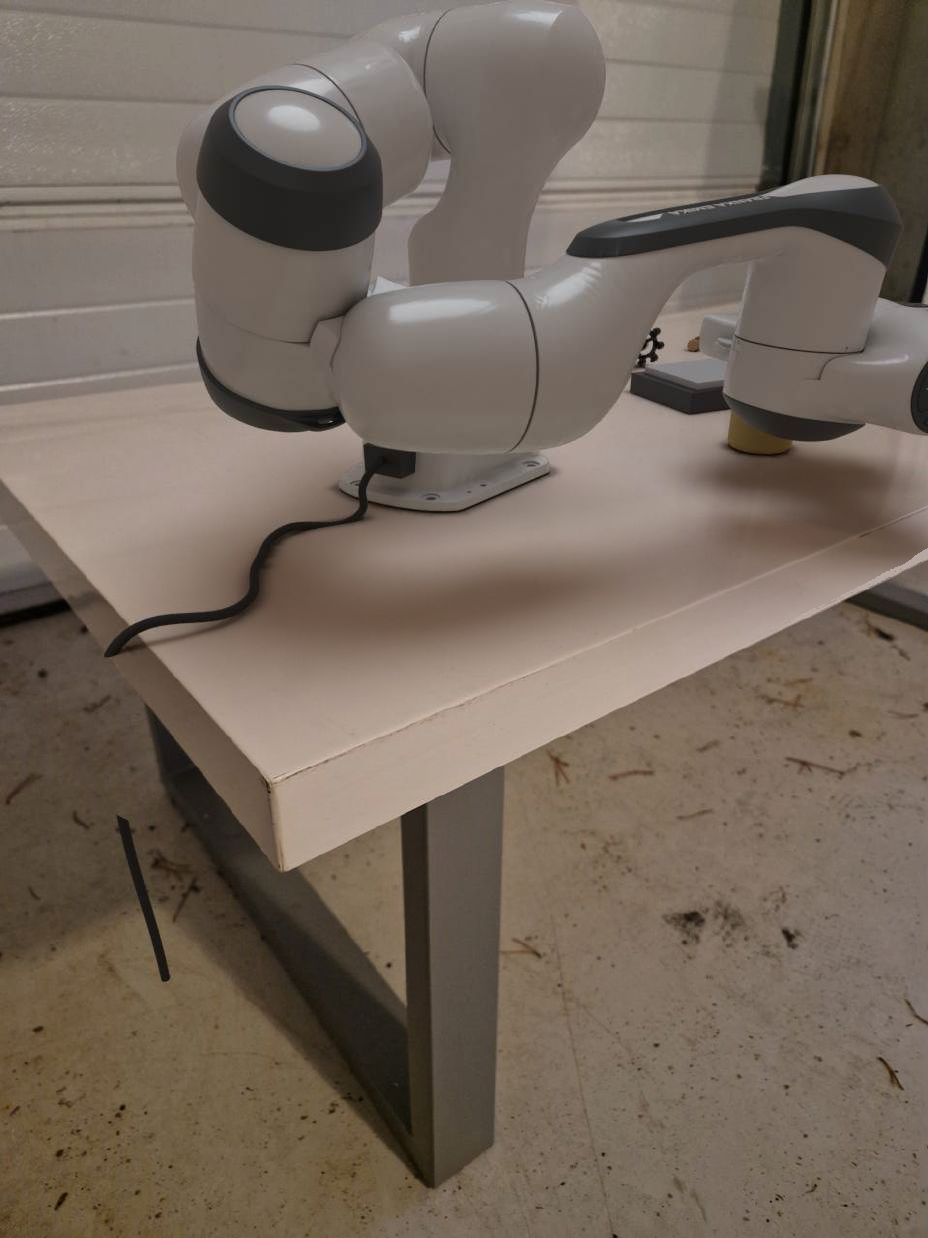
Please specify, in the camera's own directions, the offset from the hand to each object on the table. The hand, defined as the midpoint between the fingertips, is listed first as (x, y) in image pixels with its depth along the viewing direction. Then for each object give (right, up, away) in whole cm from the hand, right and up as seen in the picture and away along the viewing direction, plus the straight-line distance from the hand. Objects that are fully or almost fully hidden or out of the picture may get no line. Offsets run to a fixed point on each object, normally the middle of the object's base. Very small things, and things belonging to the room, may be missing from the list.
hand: (775, 321), depth 85 cm
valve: (-8, +6, +39) cm, 40 cm away
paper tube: (0, -12, +6) cm, 13 cm away
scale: (-1, -1, +25) cm, 25 cm away
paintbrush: (+11, +18, +60) cm, 63 cm away
